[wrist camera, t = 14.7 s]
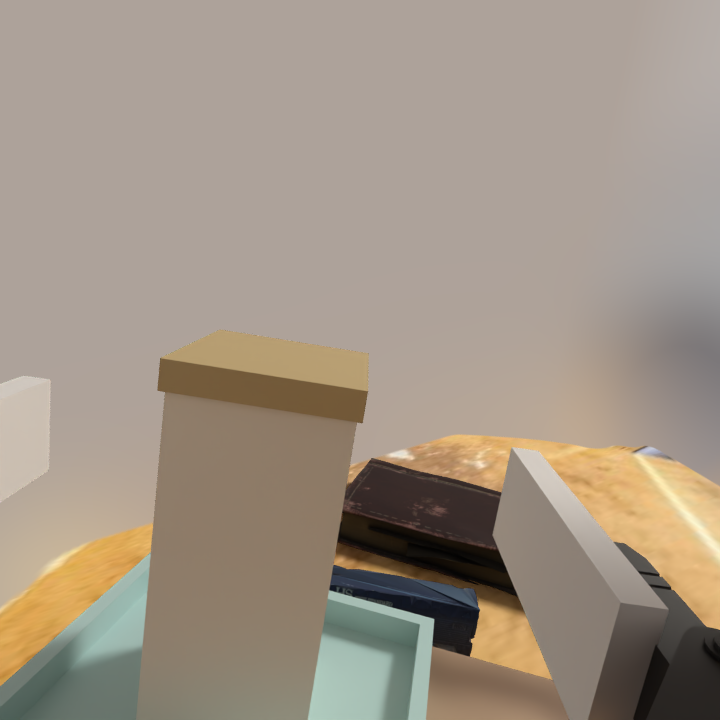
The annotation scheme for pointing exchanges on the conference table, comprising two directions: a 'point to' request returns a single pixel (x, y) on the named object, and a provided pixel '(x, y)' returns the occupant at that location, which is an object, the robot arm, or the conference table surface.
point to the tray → (124, 652)
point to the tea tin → (246, 524)
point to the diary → (425, 522)
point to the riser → (487, 691)
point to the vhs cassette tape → (417, 603)
